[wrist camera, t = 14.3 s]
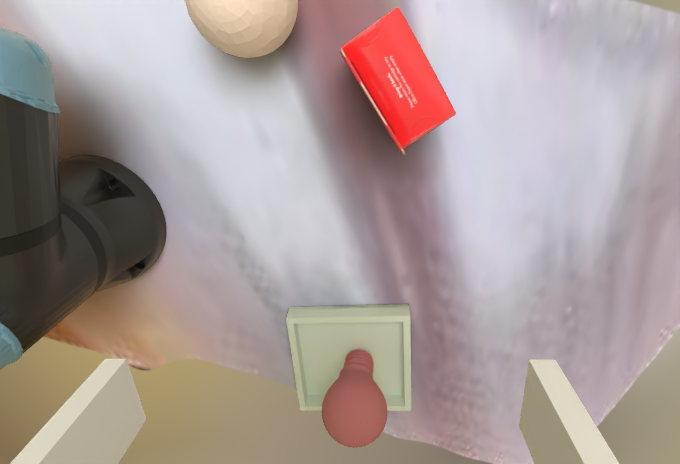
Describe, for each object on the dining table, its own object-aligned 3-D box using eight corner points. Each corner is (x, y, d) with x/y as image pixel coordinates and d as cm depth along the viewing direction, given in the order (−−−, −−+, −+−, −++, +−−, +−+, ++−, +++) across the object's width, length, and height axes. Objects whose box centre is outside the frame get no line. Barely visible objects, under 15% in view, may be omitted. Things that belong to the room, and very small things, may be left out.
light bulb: (318, 358, 52) (304, 439, 41) (353, 324, 49) (348, 402, 38) (360, 386, 53) (357, 472, 42) (396, 355, 51) (403, 438, 40)
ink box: (436, 101, 39) (469, 121, 26) (393, 129, 41) (403, 162, 27) (390, 21, 37) (401, -4, 24) (346, 53, 38) (332, 48, 25)
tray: (303, 396, 55) (299, 410, 53) (289, 306, 50) (286, 318, 48) (409, 396, 54) (411, 410, 52) (408, 303, 48) (410, 315, 46)
